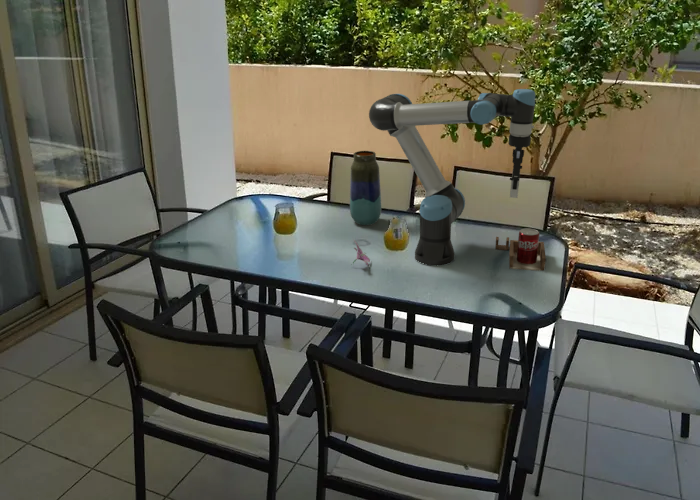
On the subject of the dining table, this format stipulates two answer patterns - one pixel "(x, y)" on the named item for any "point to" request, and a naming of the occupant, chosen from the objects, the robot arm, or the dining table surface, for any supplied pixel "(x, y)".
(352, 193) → the vase
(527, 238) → the soda can
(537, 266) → the end holder
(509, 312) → the dining table surface
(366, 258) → the lily
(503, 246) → the clip
